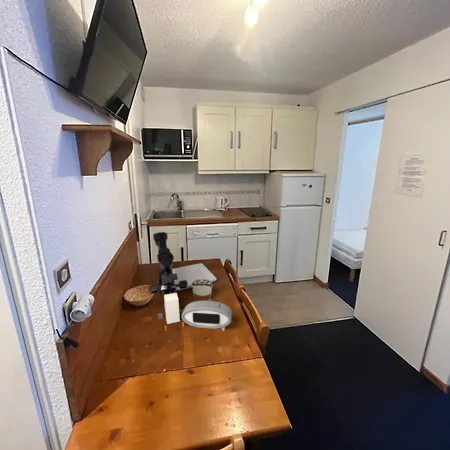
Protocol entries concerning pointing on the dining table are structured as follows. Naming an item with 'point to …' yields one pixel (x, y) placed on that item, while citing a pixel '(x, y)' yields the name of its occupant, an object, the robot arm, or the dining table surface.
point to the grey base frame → (162, 316)
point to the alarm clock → (207, 314)
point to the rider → (172, 308)
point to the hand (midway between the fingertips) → (171, 303)
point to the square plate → (192, 274)
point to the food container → (202, 288)
